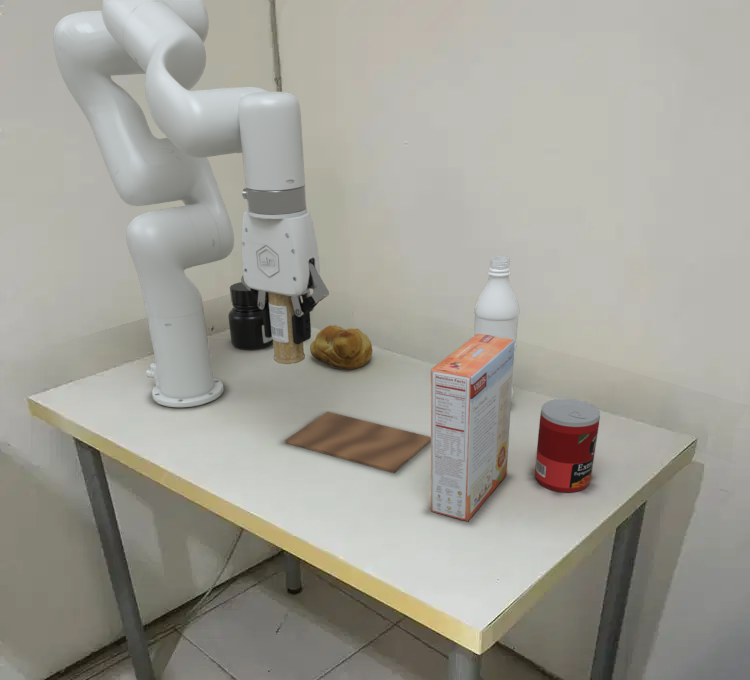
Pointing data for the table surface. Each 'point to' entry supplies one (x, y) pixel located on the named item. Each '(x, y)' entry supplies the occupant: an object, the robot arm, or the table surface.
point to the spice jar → (283, 330)
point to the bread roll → (341, 347)
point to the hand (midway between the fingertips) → (287, 336)
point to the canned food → (566, 444)
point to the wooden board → (360, 441)
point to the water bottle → (497, 304)
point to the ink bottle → (246, 320)
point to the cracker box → (470, 424)
